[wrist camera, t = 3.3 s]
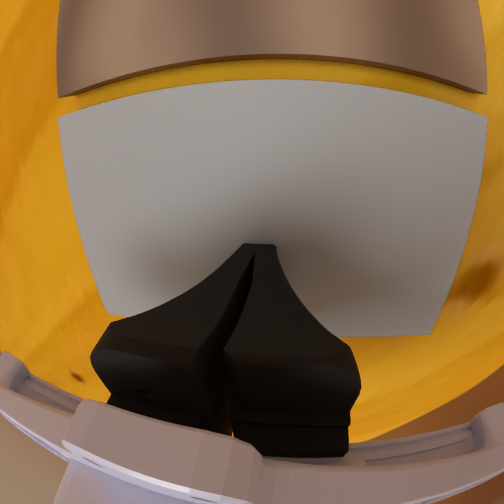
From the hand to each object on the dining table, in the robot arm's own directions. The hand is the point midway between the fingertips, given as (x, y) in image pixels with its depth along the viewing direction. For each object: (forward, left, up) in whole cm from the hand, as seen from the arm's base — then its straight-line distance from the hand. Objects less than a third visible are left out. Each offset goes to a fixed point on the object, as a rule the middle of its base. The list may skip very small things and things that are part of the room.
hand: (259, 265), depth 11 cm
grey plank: (0, -2, -1) cm, 2 cm away
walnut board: (0, -13, -2) cm, 13 cm away
